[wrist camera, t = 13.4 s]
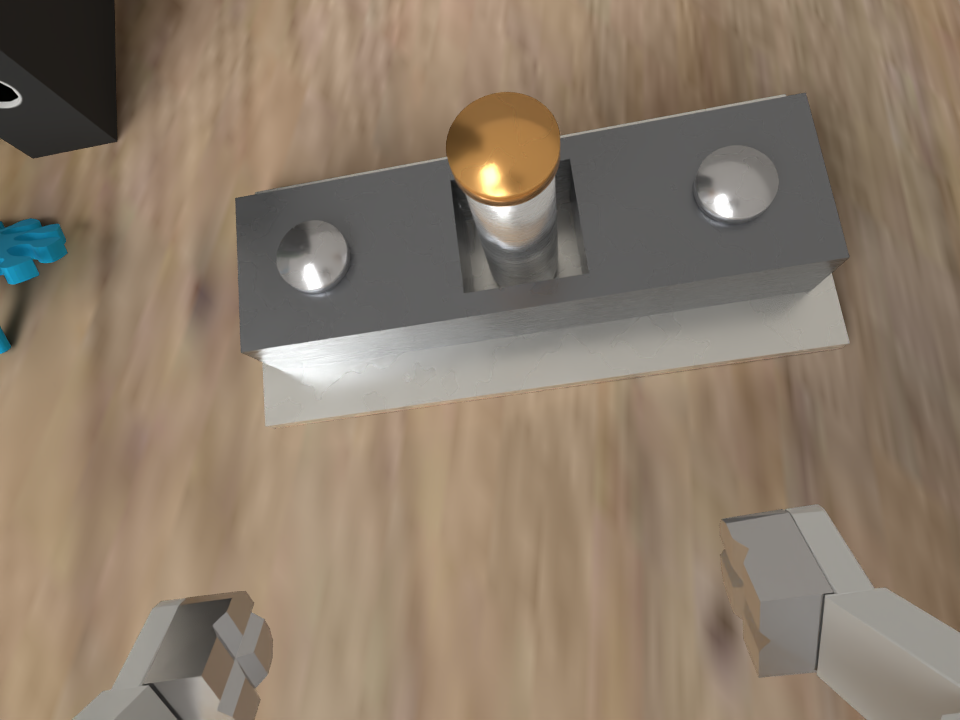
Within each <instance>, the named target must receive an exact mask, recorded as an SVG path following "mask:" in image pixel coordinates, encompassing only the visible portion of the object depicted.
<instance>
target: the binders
mask: <svg viewBox="0 0 960 720" xmlns="http://www.w3.org/2000/svg"><path fill="white" fill-rule="evenodd" d="M0 138H1V139H3V140H4V141H6V142H8V143H9V144H11V145H12V146H14V147H16V148H17V149H19V150H20V151H22V152H24V153H25V154H27V155H28V156H30V157H31V158H38V157H43V156H48V155H53V154H58V153H63V152H68V151H73V150H78V149H83V148H88V147H93V146H98V145H103V144H108V143H113V142H117V110H116V60H115V9H114V0H0Z"/></svg>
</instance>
